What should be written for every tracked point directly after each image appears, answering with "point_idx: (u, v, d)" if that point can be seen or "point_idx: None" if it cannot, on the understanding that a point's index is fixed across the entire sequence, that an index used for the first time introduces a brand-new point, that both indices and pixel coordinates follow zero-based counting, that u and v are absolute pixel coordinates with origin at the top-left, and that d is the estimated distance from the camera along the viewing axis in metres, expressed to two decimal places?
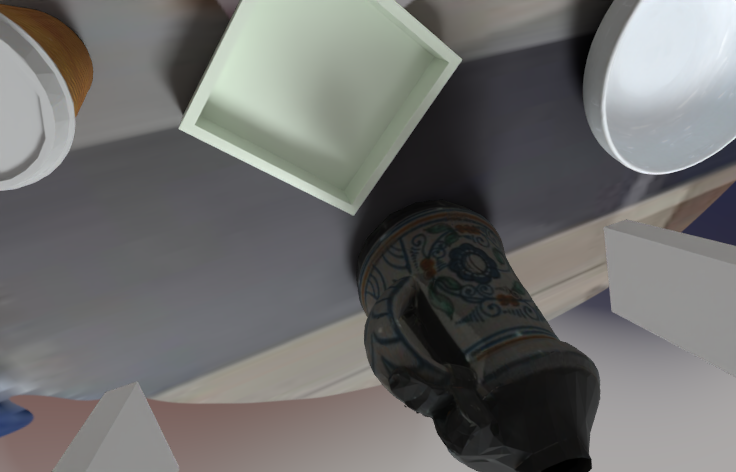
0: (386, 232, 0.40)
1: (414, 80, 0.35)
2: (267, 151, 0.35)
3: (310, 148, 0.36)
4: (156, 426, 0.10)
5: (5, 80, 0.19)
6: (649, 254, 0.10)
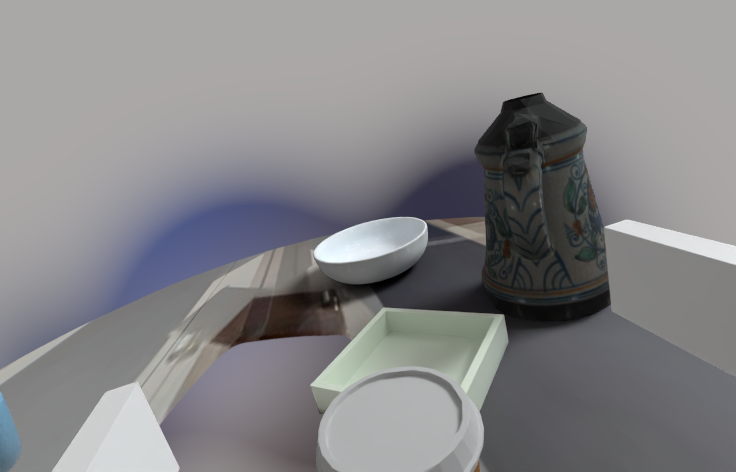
0: (517, 302, 0.49)
1: (406, 333, 0.52)
2: None
3: (467, 365, 0.43)
4: (157, 426, 0.10)
5: (374, 392, 0.26)
6: (650, 253, 0.10)
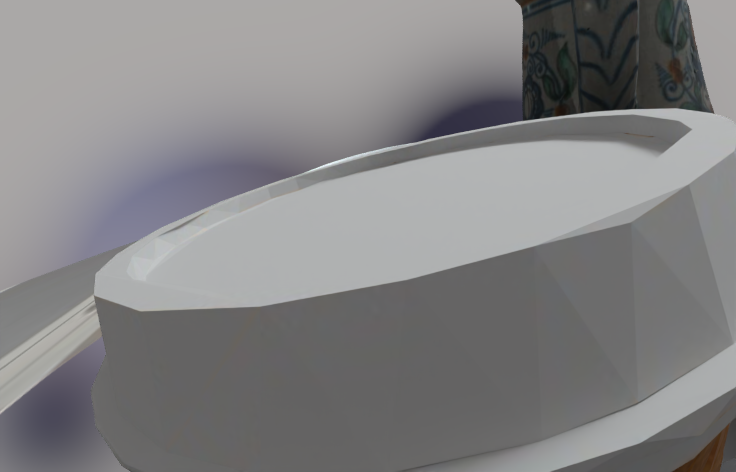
0: None
1: None
2: None
3: None
4: None
5: (340, 184, 0.09)
6: None
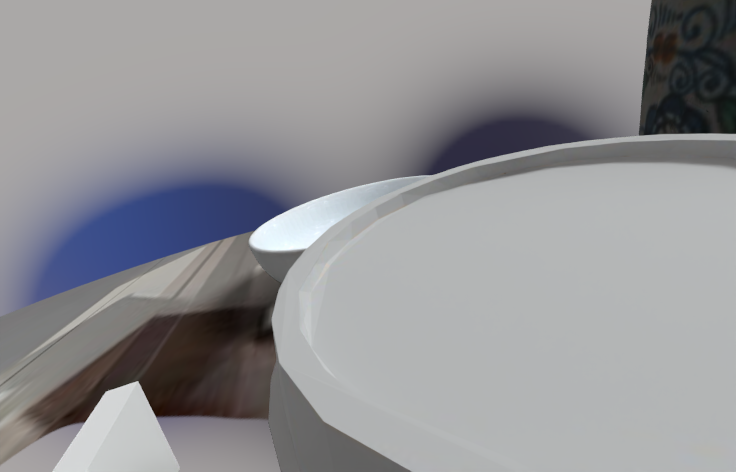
0: None
1: None
2: None
3: None
4: (157, 425, 0.10)
5: (456, 204, 0.09)
6: None
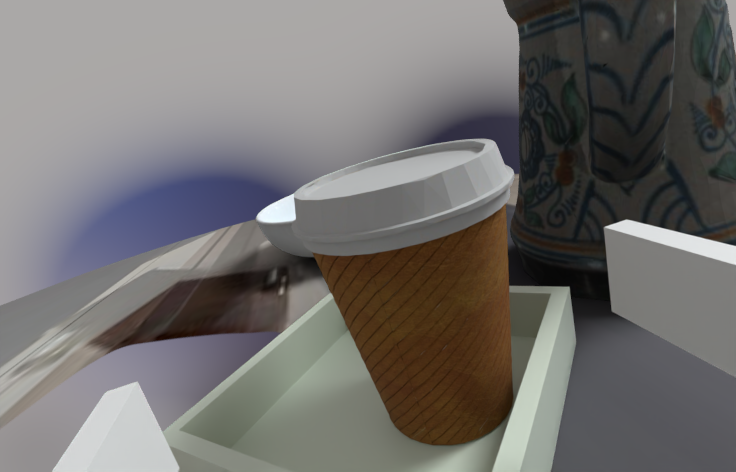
0: (586, 267, 0.26)
1: None
2: None
3: None
4: (157, 426, 0.10)
5: (377, 168, 0.20)
6: (649, 254, 0.10)
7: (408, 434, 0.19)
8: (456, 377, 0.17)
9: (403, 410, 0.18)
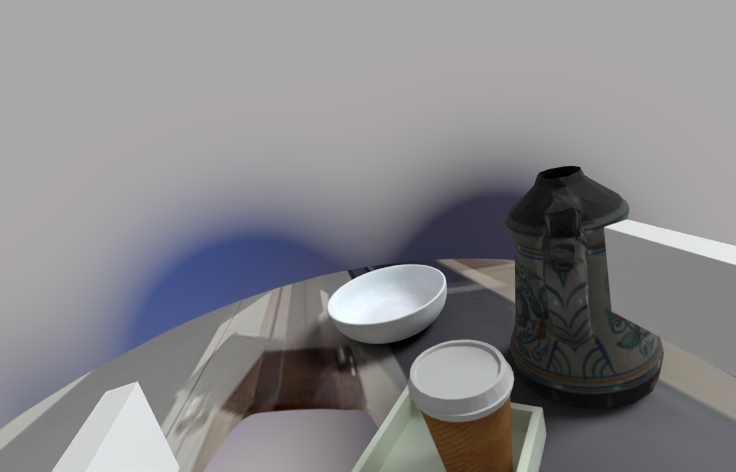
0: (553, 387, 0.46)
1: None
2: None
3: None
4: (157, 426, 0.10)
5: (444, 354, 0.40)
6: (649, 254, 0.10)
7: None
8: (486, 468, 0.36)
9: None
